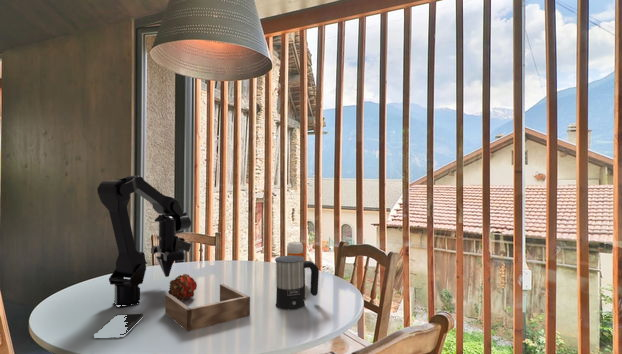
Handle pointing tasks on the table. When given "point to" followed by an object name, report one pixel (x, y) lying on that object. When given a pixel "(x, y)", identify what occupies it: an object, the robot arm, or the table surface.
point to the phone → (131, 320)
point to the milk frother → (293, 281)
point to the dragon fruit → (182, 287)
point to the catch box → (209, 309)
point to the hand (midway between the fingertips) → (167, 276)
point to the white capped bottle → (295, 249)
